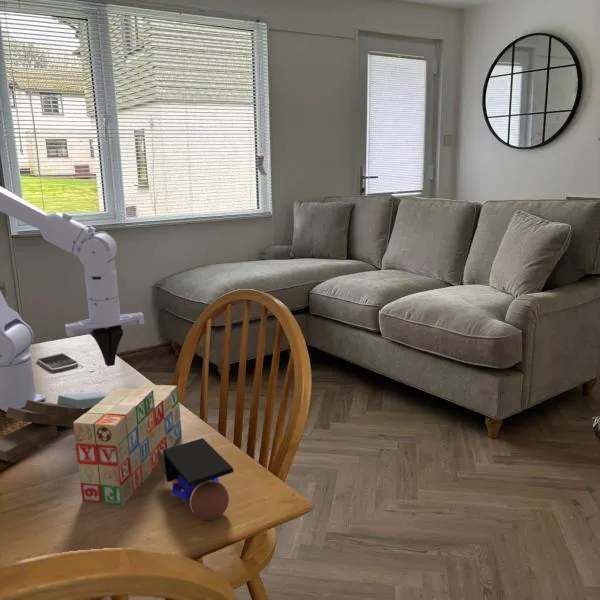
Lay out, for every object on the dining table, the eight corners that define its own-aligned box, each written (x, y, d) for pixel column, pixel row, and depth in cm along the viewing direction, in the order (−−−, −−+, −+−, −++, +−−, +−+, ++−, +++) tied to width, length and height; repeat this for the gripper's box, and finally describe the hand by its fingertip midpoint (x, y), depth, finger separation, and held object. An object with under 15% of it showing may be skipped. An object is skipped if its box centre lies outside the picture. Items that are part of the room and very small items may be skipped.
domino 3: (62, 440, 103) (13, 467, 95) (42, 435, 105) (-8, 461, 97) (61, 432, 103) (12, 458, 94) (41, 427, 105) (-10, 452, 96)
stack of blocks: (148, 433, 104) (142, 366, 101) (182, 436, 102) (177, 368, 99) (81, 502, 83) (71, 421, 80) (123, 506, 82) (114, 424, 79)
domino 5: (116, 404, 116) (76, 408, 107) (98, 400, 118) (57, 404, 109) (117, 396, 116) (78, 399, 107) (99, 392, 118) (58, 395, 109)
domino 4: (87, 419, 109) (44, 414, 101) (68, 414, 112) (24, 409, 103) (89, 410, 110) (46, 404, 101) (70, 405, 112) (26, 399, 103)
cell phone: (53, 375, 134) (52, 369, 133) (35, 363, 142) (35, 357, 141) (80, 368, 138) (79, 362, 137) (61, 357, 146) (61, 352, 145)
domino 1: (57, 434, 102) (6, 461, 94) (36, 429, 104) (-15, 455, 96) (56, 425, 102) (5, 451, 93) (35, 420, 104) (-17, 445, 95)
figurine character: (157, 491, 88) (193, 534, 75) (151, 441, 87) (186, 476, 74) (200, 478, 91) (242, 517, 78) (195, 430, 90) (236, 461, 77)
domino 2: (73, 427, 106) (22, 421, 98) (56, 422, 108) (5, 416, 100) (75, 418, 106) (25, 411, 98) (58, 413, 109) (8, 407, 101)
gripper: (133, 288, 121) (139, 352, 124) (58, 298, 113) (66, 366, 116) (145, 294, 115) (151, 361, 118) (66, 305, 107) (75, 376, 111)
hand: (109, 364), depth 117 cm, fingers closed
